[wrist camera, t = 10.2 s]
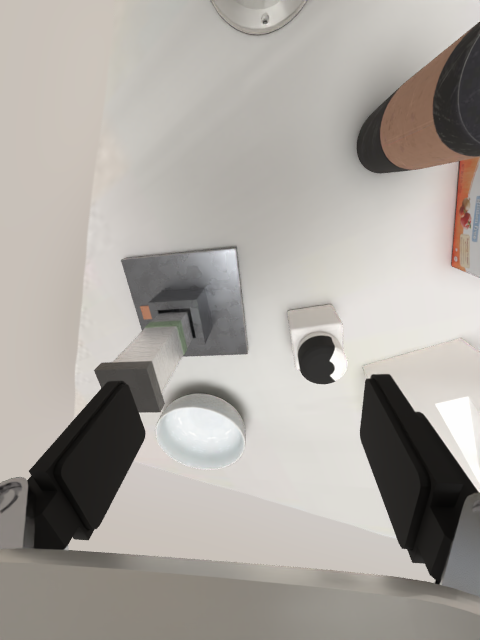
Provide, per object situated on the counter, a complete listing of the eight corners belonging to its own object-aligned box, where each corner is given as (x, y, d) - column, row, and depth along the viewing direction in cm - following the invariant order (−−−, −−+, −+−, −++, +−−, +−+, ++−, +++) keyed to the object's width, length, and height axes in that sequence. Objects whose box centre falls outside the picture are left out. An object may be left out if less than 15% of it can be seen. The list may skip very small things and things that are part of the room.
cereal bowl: (166, 433, 59) (154, 461, 52) (169, 373, 51) (154, 398, 45) (241, 447, 58) (238, 478, 52) (254, 389, 51) (252, 417, 45)
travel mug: (340, 146, 33) (425, 87, 15) (393, 83, 30) (576, -84, 12) (381, 189, 34) (502, 182, 16) (435, 133, 31) (653, 51, 14)
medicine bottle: (292, 347, 46) (299, 393, 35) (286, 310, 43) (292, 348, 32) (334, 341, 45) (355, 388, 34) (331, 303, 42) (353, 340, 31)
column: (154, 310, 37) (94, 370, 24) (190, 308, 36) (146, 368, 24) (163, 342, 39) (111, 412, 27) (196, 340, 39) (160, 412, 26)
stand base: (125, 257, 42) (100, 268, 36) (236, 247, 40) (229, 256, 33) (153, 353, 50) (136, 376, 43) (248, 349, 47) (244, 373, 41)
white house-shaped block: (473, 422, 49) (645, 615, 26) (386, 439, 53) (471, 620, 30) (460, 337, 42) (677, 499, 20) (361, 365, 46) (448, 526, 24)
